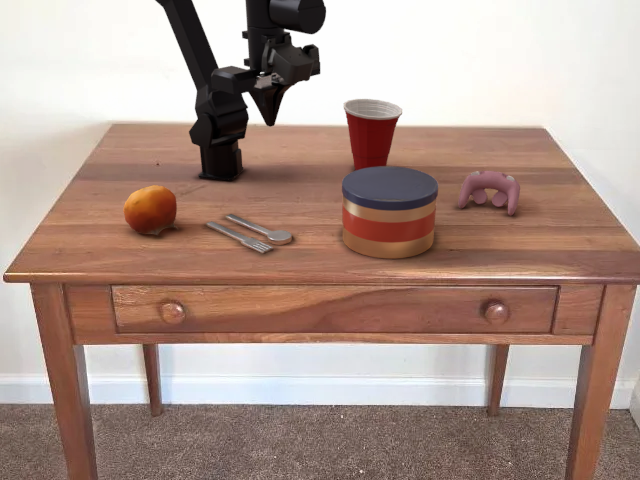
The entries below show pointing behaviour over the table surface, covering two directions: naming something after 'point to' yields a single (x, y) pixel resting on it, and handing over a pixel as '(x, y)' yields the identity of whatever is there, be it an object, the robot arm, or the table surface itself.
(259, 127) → the table surface
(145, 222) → the fruit
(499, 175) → the video game controller
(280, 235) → the spoon
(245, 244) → the fork
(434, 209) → the tin
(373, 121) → the plastic cup
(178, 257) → the table surface
